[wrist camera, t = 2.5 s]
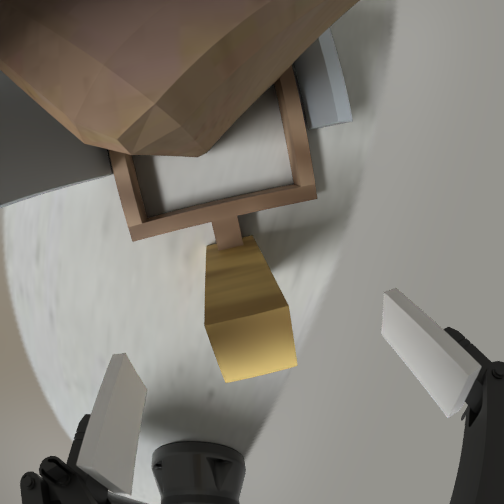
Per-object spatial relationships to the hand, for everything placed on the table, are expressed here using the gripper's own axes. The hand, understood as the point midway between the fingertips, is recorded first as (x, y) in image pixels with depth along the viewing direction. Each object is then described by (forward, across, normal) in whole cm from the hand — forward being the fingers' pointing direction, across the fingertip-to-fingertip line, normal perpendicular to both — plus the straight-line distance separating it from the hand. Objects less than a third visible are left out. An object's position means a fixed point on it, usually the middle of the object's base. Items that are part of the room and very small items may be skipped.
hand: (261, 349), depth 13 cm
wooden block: (+13, 0, -16) cm, 20 cm away
